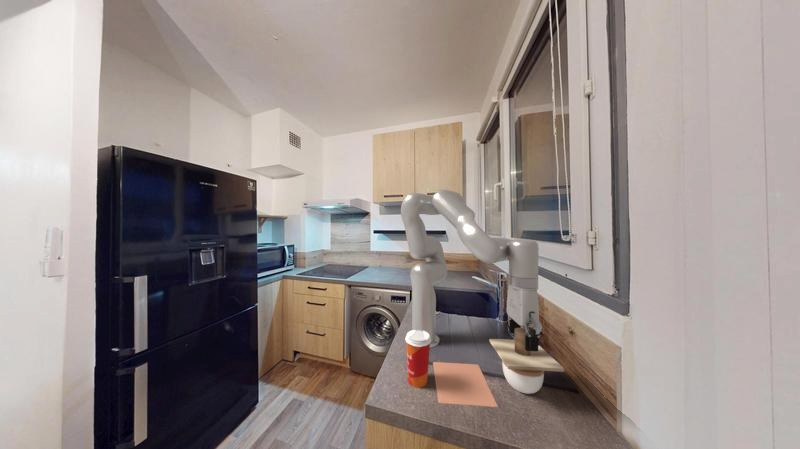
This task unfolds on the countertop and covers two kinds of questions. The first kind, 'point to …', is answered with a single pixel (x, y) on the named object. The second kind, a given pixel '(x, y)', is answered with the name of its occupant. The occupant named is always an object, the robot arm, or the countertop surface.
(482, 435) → the countertop surface
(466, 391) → the terracotta mat
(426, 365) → the paper cup
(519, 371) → the lidded jar
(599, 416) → the countertop surface
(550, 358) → the birch lid
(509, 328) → the robot arm
